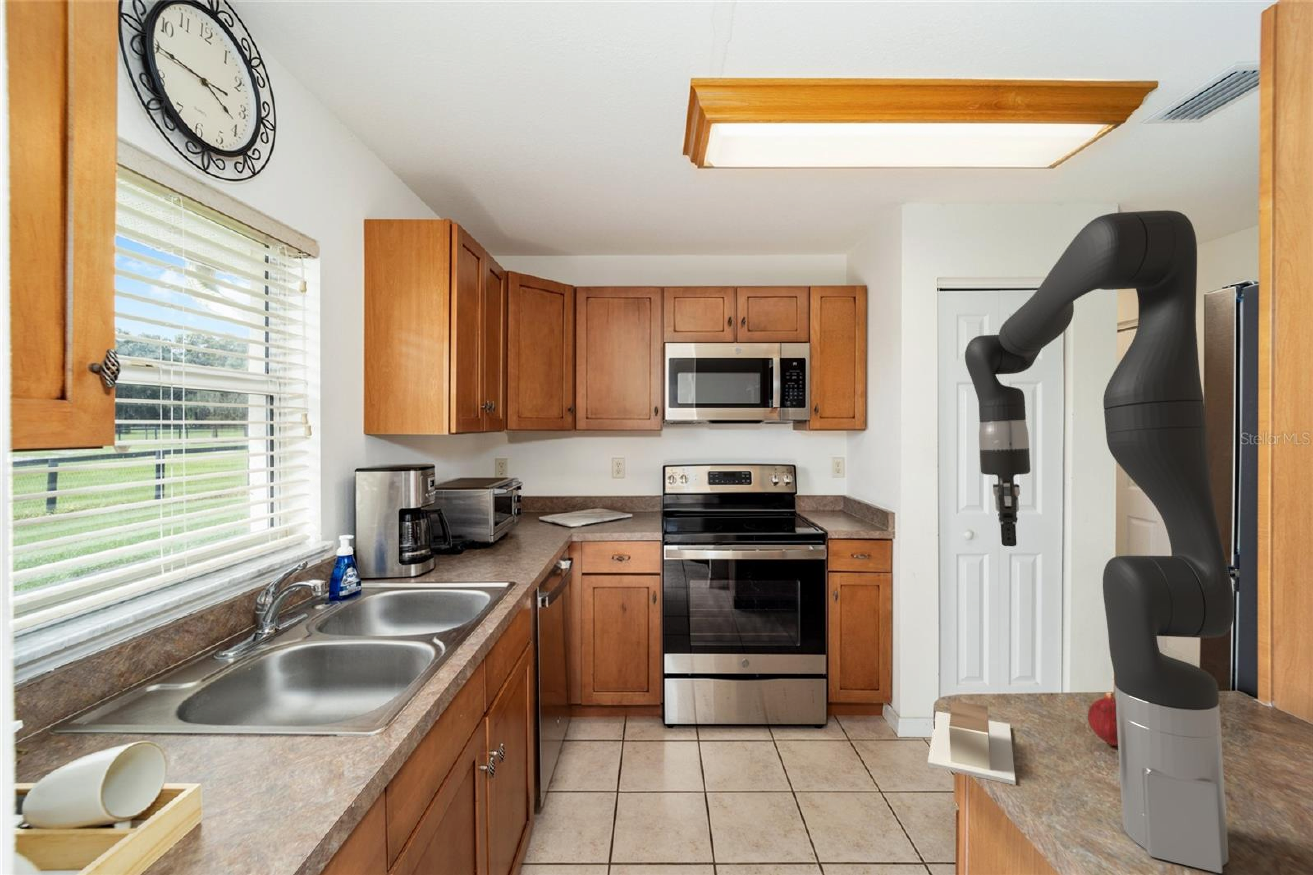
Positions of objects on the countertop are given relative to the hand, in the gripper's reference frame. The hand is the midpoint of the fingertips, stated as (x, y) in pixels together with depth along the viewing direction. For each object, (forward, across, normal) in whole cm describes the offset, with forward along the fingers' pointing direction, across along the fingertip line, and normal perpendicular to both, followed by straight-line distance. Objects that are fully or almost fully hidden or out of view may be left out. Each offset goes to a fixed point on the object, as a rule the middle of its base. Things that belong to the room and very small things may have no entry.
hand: (1009, 545), depth 101 cm
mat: (+29, -16, +7) cm, 34 cm away
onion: (+29, -7, -12) cm, 32 cm away
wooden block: (+26, -14, +7) cm, 30 cm away
